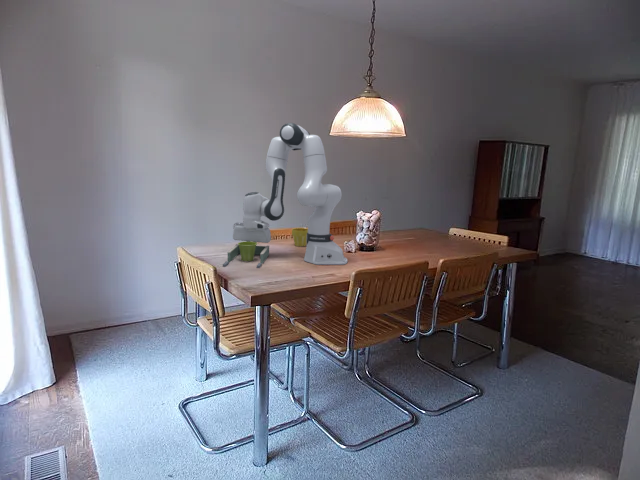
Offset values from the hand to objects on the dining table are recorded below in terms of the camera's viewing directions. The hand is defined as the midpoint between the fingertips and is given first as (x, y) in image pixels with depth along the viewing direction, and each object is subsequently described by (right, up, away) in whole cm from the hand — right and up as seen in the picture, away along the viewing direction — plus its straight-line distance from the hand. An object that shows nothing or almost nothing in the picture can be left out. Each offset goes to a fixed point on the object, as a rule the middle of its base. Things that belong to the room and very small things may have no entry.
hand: (251, 249), depth 229 cm
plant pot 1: (-1, -5, -10) cm, 11 cm away
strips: (-1, -7, -21) cm, 22 cm away
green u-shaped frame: (0, -4, -5) cm, 7 cm away
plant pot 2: (+24, +2, +31) cm, 39 cm away
